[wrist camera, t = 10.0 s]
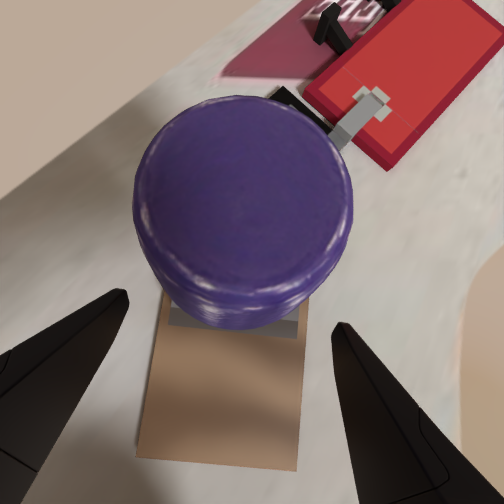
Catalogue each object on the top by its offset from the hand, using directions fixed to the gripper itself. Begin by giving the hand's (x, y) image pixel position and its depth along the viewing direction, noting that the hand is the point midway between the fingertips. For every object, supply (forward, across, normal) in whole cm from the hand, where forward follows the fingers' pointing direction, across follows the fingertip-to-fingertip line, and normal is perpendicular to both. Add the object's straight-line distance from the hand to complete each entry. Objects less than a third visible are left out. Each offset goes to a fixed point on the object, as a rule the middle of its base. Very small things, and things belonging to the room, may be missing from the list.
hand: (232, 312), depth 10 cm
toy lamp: (+8, 0, +5) cm, 10 cm away
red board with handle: (+25, -11, -10) cm, 29 cm away
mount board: (+5, 0, +9) cm, 10 cm away
